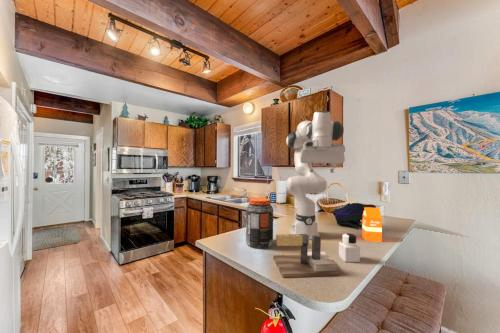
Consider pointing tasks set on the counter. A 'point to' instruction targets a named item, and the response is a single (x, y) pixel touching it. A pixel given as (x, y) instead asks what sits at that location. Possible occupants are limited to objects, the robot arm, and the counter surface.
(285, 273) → the lock plate
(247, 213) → the supplement tub
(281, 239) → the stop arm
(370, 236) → the orange juice
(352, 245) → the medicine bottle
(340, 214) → the navy cloth bag
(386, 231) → the counter surface
